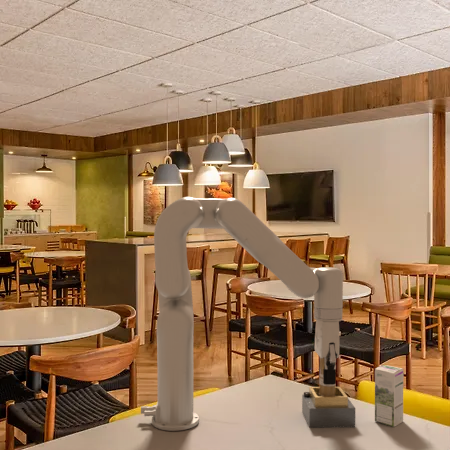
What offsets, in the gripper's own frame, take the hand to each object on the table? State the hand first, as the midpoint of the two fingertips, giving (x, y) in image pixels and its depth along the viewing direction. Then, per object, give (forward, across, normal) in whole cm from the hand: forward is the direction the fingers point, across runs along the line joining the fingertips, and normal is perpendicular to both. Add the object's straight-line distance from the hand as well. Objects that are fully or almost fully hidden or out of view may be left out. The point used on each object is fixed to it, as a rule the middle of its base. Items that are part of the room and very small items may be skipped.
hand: (327, 380), depth 148 cm
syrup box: (+11, +2, +16) cm, 20 cm away
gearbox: (+11, 0, 0) cm, 11 cm away
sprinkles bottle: (+5, 0, 0) cm, 5 cm away
